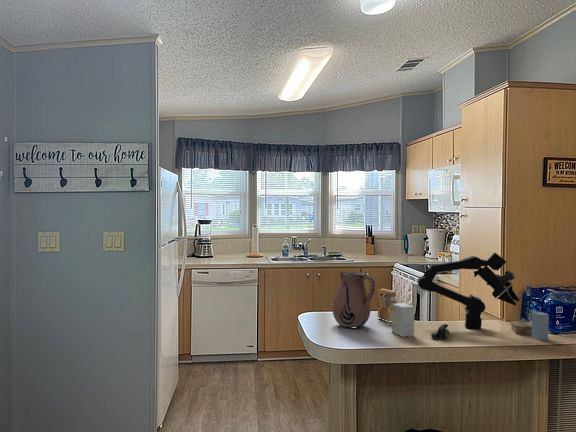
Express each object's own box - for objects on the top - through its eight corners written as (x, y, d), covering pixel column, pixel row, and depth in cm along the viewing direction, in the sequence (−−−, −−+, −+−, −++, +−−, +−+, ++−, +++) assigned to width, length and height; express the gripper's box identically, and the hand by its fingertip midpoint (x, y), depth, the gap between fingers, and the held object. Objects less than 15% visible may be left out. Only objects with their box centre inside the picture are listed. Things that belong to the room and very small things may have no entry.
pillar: (538, 340, 193) (539, 314, 193) (531, 337, 198) (532, 312, 198) (548, 339, 194) (548, 314, 194) (540, 336, 198) (541, 312, 198)
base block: (515, 334, 203) (515, 325, 203) (511, 329, 212) (511, 321, 212) (537, 336, 201) (537, 327, 201) (532, 331, 209) (532, 322, 209)
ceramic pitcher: (343, 319, 223) (344, 269, 223) (383, 326, 211) (384, 273, 210) (325, 326, 209) (326, 273, 209) (366, 334, 197) (367, 277, 196)
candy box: (396, 322, 220) (396, 291, 220) (389, 323, 218) (390, 291, 218) (382, 318, 228) (383, 288, 227) (376, 319, 225) (377, 288, 225)
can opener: (446, 342, 188) (446, 329, 188) (429, 339, 192) (429, 326, 192) (455, 333, 203) (455, 320, 203) (439, 330, 207) (439, 318, 207)
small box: (414, 336, 196) (414, 306, 196) (401, 337, 194) (402, 307, 193) (403, 331, 203) (404, 302, 203) (391, 332, 201) (392, 303, 201)
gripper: (498, 268, 199) (527, 294, 193) (506, 263, 215) (533, 287, 208) (480, 285, 204) (508, 311, 197) (489, 279, 219) (515, 303, 213)
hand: (517, 302), depth 204 cm, fingers open, 9 cm apart
